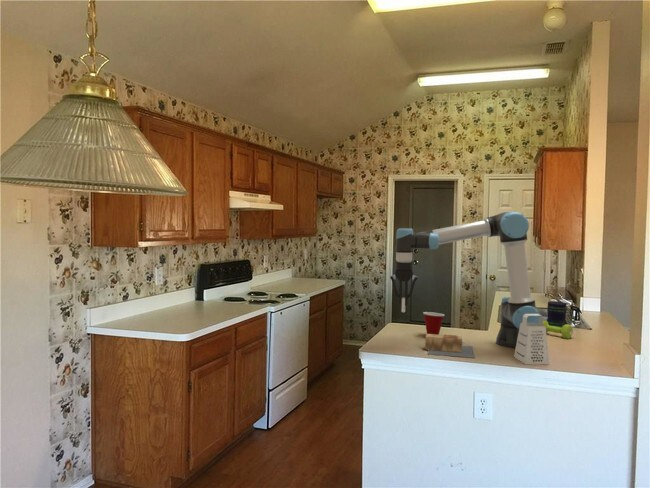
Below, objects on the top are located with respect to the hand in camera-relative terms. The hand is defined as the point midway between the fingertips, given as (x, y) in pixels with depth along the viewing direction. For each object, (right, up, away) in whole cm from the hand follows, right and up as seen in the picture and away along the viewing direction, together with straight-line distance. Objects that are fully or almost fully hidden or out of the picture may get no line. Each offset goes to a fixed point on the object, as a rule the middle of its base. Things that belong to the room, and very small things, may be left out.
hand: (403, 311), depth 230 cm
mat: (+21, -17, -4) cm, 28 cm away
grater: (+52, -19, -18) cm, 58 cm away
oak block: (+10, -14, -2) cm, 17 cm away
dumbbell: (+85, -17, +30) cm, 92 cm away
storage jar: (+94, -17, +47) cm, 106 cm away
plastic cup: (+19, -16, +24) cm, 35 cm away
